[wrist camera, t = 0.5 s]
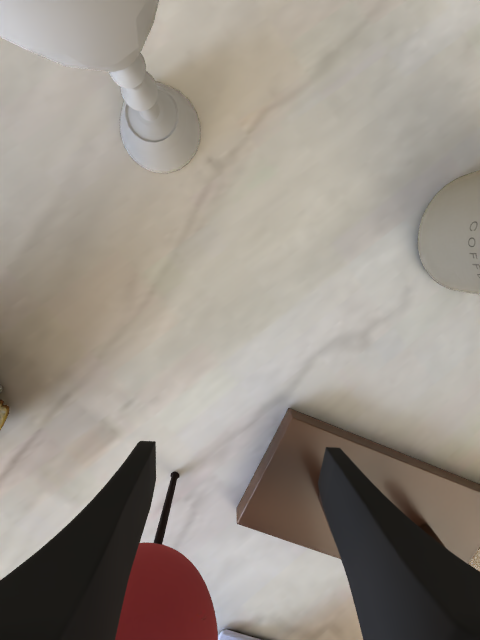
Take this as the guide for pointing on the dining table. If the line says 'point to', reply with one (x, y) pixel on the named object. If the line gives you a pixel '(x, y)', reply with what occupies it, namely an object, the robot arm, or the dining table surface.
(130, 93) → the chalice
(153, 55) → the dining table surface
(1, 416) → the decorative figurine
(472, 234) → the travel mug
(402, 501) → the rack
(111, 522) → the robot arm
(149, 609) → the lollipop
